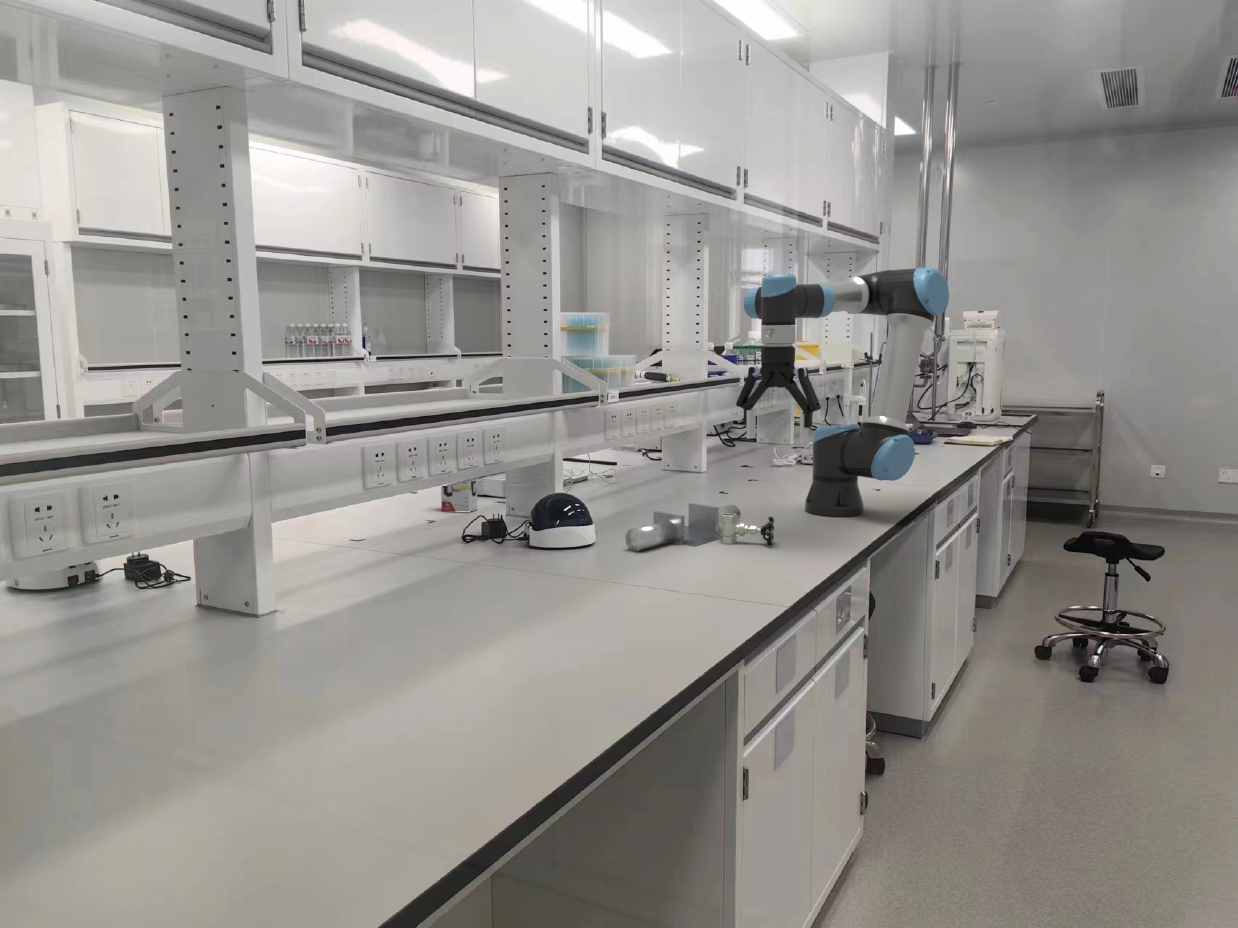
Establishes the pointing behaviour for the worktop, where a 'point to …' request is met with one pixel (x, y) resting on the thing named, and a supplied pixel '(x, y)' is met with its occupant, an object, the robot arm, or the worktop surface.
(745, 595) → the worktop surface
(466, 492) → the ink box
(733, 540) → the valve
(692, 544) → the pipe run
